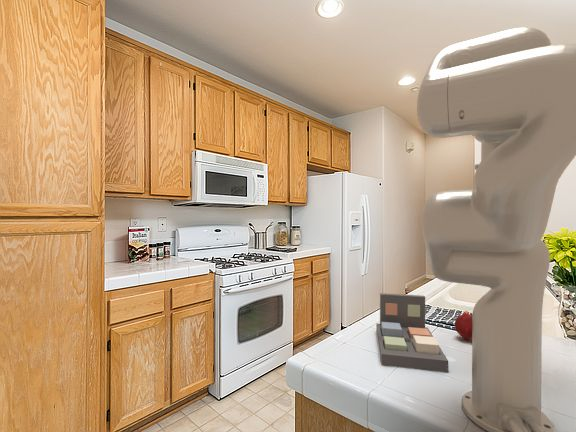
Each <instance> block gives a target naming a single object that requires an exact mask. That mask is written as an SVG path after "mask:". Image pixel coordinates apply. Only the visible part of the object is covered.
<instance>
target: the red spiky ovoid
mask: <svg viewBox="0 0 576 432" xmlns="http://www.w3.org/2000/svg"><path fill="white" fill-rule="evenodd" d="M454 328H455V331H456V333H458V335H459V336H460V337H461V338H463V340H466V341H469V340H472V315H471V313H470V312H469V311H468V310H465V311H464V313H462V314H460V315H458V317H456V319H455V321H454Z"/></svg>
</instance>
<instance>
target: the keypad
mask: <svg viewBox="0 0 576 432" xmlns="http://www.w3.org/2000/svg"><path fill="white" fill-rule="evenodd" d="M381 322H391V323H400V326H401V328H402V338H404V340H405V342H406V345H407V351H398V350H388V349H384V336H382V331H381ZM375 324H376V328H375V329H376V331H375V332H376V339H377V344H378V351H379V357H380V364H381V366H386V367H387V366H390V367H397V368H407V369H415V370H417V369H418V370H424V371H425V370H426V371H434V372H443V373H449V359H448V358H447V357H446V355H445V353H444V351H443V350H442V348H441V346H439V354H429V353H419V352H416V351H415V348H414V346H413V339H410V338H409V335H408V327H413V328H426V329H427V330H428V331H429V333H430V335H431V337H434V335H433V334H432V332H431V331H430V329H429V327H427V326H426V296H425V295H418V294H402V293H401V294H399V293H385V292H380V293H379V323H377V322H376V323H375Z"/></svg>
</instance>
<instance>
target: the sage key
mask: <svg viewBox="0 0 576 432" xmlns="http://www.w3.org/2000/svg"><path fill="white" fill-rule="evenodd" d="M384 349H388V350H398V351H407V345H406V342H405V340H404V338H400V337H389V336H384Z"/></svg>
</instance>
